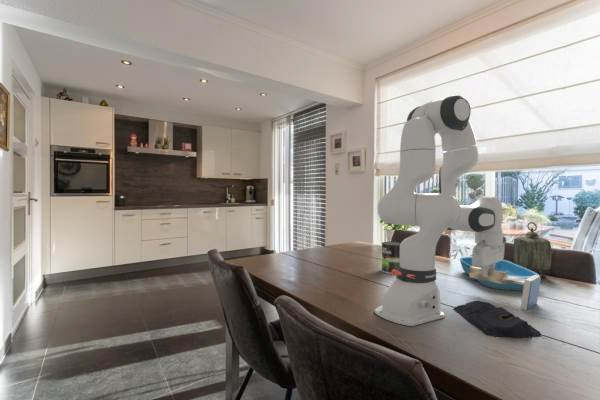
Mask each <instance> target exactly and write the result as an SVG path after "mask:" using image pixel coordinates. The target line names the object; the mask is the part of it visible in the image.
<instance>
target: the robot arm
mask: <svg viewBox="0 0 600 400" xmlns="http://www.w3.org/2000/svg"><path fill="white" fill-rule="evenodd" d="M470 105H471V104H470V103H469V101H468V100H467V99H466V98H465V97H464V96H462V95H460V94H459V95H456V94H455V95H449V96H446V97H444V98H443V97H442V98H440V99H436V100H431V101H429V102H425V103H423V104H422V105H418V106H417V107H415V108H414V109H412V110H411V111H410V112H409V114H408V115H407V118H406V122H405V123H404V125H403V127H402V132H401V135H400V136H401V138H400V145H399V146H400V148H399V149H400V150H399V152H400V153H399V171H398V176H397V179H396V182H395V183H394V185H393V187H392V188H391V189H390V190H389V191H388V192H387V193H385V194H384V195H383V196H382V197H381V198H380V200H379V201H378V204H377V214H378V216H379V218H380V220H381V221H382V222H383V223H387V224H390V225H395V226H410V227H411V226H412V227H413V226H414V227H419V231H418V232H417V233H415V234H412V235H410V236H408V237H406V238H404V239H403V240H402V241H401V242H400V243H401V244H400V265H399V266H398V269H397V270H395V269H393V270H392V271H391V274H390V275H392V276H395V277H396V278H395V279H394V280H393V281H392V283H391V285H390V286H389V287H388V288H387V289H386V291H385V292H384V293H383V296H382V303H381V305H379V306H378V307H376V308H374V313H375V315H376V316H379V317H380V318H382V319H384V320H387V321H389V322H392V323H395V324H399V325H403V326H408V327H414V326H418V325H421V324H425V323H429V322H432V321H437V320H441V319H444V318H445V313H444V311H442V308H441V294H440V289H439V287H438V285H437V283H436V280H437V269H436V267H435V266H436V265H435V263H436V250H437V244H438V242H439V240H440V238H441V236H442V235H443V234H444V232H445V231H446V230H448V231H461V232H469V233H474V243H475V244H476V245H474V246H473V248H472V254H471V257H472V265H473V266H474V267H478V268H481V270H482V276H483V277H489V272H488V269H492V270H494V268H495V263H497V262H500V261H502V260H504V257H505V248H506V246H505V244H506V243H507V237H506V236H505V235H503V233H504V232H503V228H502V224H503V219H504V218H503V217H504V216H503V215H504V213H503V204H502V201H501V199H500V198H498V197H495V196H489V195H487V196H486V195H479V196H478V197H477V198H476V201H475V202H473V203H471V204H469V205H463V204H462V205H461V204H460V202H459V200H458V199H457V197H456V190H457V189H456V183H457V180H458V179H459V178H460V177H462V176H463V175H465V174H467V173H468V172H471V170H472V169H474V167H476V166H477V163H478V161H479V149H478V144H477V143H478V142H477V138H476V135H475V132H474V129H473V126H472V123H471V121H470V119H471V118H470V117H471V111H472V109H471V106H470ZM436 134H438V135H439V136H440V138H441V140H440V141H441V149H442V155H443V157H442V165H441V166H440V168H439V171H438V172H439V173H438V192H436V193H435V192H430V193H429V192H422V193H421V192H420V193H419V192H418V193H417V192H415V190H416V188H417V187H418V186H419V185H421V184H423V183H425V182H427V181H430V179H432V178H433V177H434V175H435V174H436V157H437V156H436Z"/></svg>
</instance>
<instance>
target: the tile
mask: <svg viewBox="0 0 600 400" xmlns="http://www.w3.org/2000/svg"><path fill="white" fill-rule="evenodd" d="M541 279H542V278H541V276H540V275H539V276H538V275H533V276H531V277H529V278H527V279H525V282H524V289H523V290H522V297H521V303H520V309H522V310H525V311H526V310H528V309H530V308H532V307H533V306H535V305H536V304H537V303H538V298H539V297H538V296H539V292H540V285H541Z"/></svg>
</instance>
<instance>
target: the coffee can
mask: <svg viewBox="0 0 600 400" xmlns="http://www.w3.org/2000/svg"><path fill="white" fill-rule="evenodd" d="M400 244H401V242H398V241H383V242H381V272H382V273H385V274H389V275H392V274H391V271H392V270H393V269H395V270H397V269H398V266H399V265H400Z"/></svg>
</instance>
